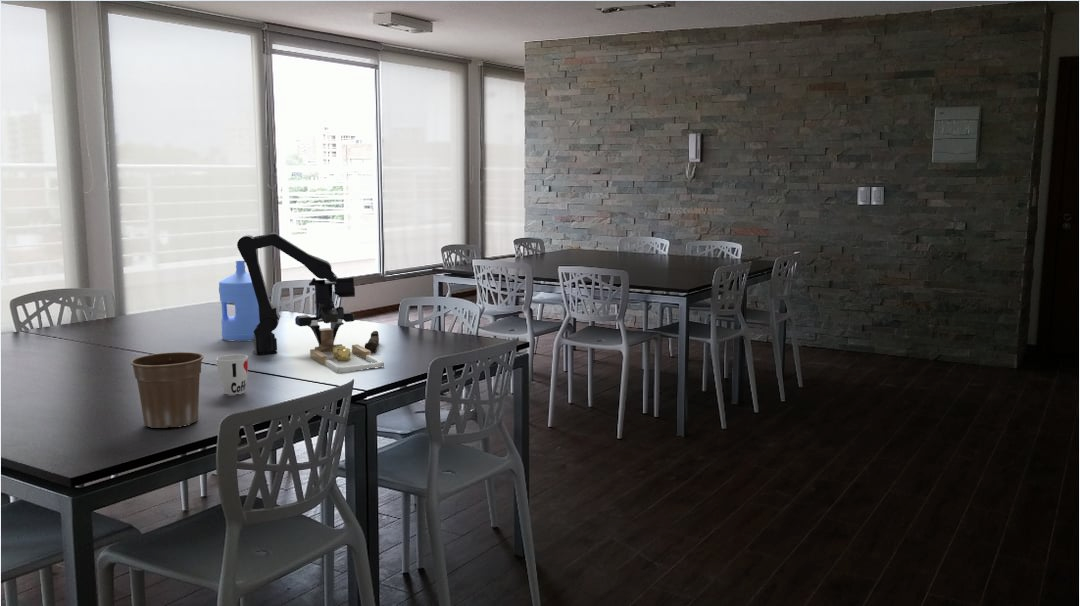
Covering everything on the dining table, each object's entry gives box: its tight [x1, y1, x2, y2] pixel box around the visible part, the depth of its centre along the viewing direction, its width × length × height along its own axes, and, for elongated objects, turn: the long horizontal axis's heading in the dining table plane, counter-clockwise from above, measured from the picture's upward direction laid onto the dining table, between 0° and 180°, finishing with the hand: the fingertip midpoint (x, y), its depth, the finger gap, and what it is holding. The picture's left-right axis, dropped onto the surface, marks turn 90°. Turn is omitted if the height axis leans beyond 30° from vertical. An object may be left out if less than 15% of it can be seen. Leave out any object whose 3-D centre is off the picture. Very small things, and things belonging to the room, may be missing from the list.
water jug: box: [218, 260, 260, 342], centre depth 323 cm, size 16×16×28 cm
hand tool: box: [364, 330, 380, 354], centre depth 305 cm, size 19×4×5 cm, turn 2°
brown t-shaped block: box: [314, 327, 343, 353], centre depth 302 cm, size 9×6×7 cm, turn 120°
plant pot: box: [130, 351, 204, 429], centre depth 216 cm, size 16×16×16 cm
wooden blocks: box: [309, 344, 372, 366], centre depth 289 cm, size 16×13×2 cm
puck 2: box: [337, 347, 351, 362], centre depth 286 cm, size 4×4×4 cm
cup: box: [216, 353, 249, 396], centre depth 245 cm, size 8×8×10 cm
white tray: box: [325, 354, 385, 374], centre depth 277 cm, size 14×13×2 cm
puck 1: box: [332, 345, 346, 360], centre depth 290 cm, size 4×4×4 cm
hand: (326, 343), depth 302 cm, fingers closed on brown t-shaped block, 4 cm apart
